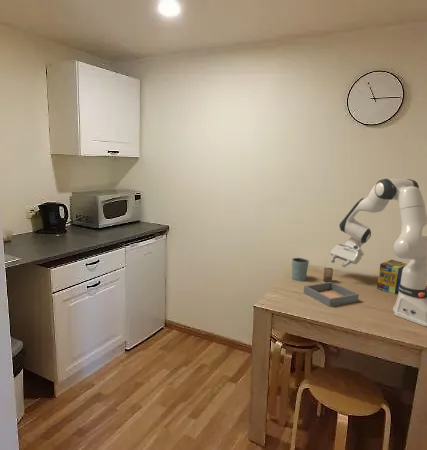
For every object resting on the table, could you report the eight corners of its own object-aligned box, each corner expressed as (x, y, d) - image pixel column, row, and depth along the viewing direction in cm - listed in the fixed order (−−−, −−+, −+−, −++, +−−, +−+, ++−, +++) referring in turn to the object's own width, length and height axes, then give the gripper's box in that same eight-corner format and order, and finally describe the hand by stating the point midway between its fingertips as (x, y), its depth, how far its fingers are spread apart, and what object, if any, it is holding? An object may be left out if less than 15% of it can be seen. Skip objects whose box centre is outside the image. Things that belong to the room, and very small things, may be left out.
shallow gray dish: (357, 301, 194) (358, 294, 193) (329, 306, 185) (330, 299, 184) (330, 288, 211) (331, 281, 211) (303, 292, 202) (304, 285, 202)
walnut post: (333, 282, 222) (334, 269, 221) (327, 283, 220) (328, 270, 218) (327, 279, 226) (328, 267, 225) (321, 280, 224) (322, 268, 223)
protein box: (376, 288, 214) (380, 263, 211) (387, 283, 224) (391, 259, 221) (394, 294, 207) (398, 268, 204) (405, 288, 217) (409, 263, 214)
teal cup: (295, 281, 220) (296, 262, 217) (287, 276, 229) (289, 257, 227) (310, 281, 222) (312, 262, 220) (301, 275, 232) (303, 257, 230)
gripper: (336, 240, 234) (323, 256, 232) (361, 248, 217) (347, 265, 214) (340, 246, 237) (327, 262, 235) (366, 255, 219) (352, 272, 217)
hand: (337, 264), depth 224 cm, fingers open, 8 cm apart
